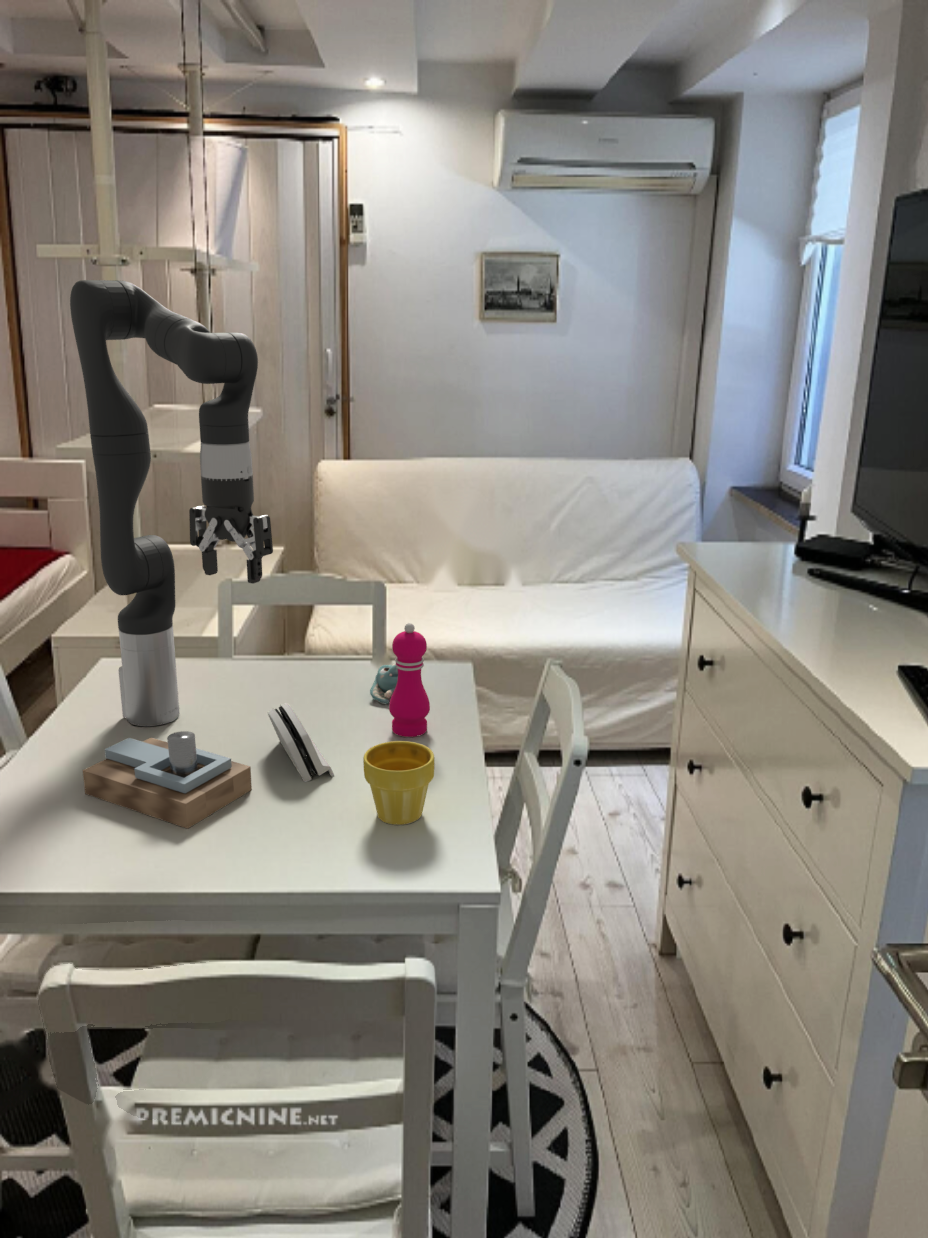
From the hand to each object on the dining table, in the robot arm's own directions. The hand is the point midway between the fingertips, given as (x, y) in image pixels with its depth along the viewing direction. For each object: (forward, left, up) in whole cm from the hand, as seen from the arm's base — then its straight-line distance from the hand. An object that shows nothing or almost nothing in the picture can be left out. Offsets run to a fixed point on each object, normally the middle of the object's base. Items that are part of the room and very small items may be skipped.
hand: (232, 578), depth 154 cm
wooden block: (-5, -12, -32) cm, 35 cm away
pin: (-1, -12, -32) cm, 34 cm away
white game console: (+6, +7, -32) cm, 34 cm away
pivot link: (-6, -12, -28) cm, 31 cm away
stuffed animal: (+5, +39, -32) cm, 51 cm away
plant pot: (+30, 0, -32) cm, 44 cm away
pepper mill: (+15, +27, -32) cm, 45 cm away
